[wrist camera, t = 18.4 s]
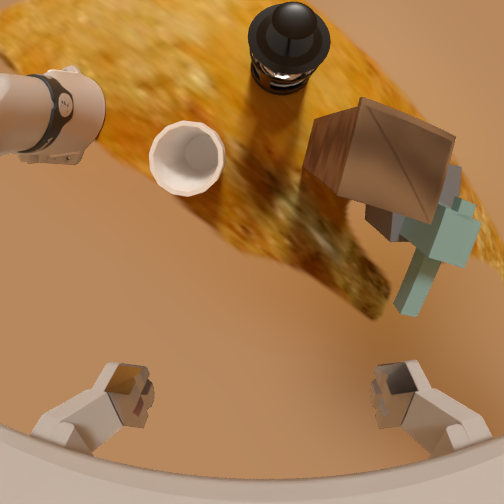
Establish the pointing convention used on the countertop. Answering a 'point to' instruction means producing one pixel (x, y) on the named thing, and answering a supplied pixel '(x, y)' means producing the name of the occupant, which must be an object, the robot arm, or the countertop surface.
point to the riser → (392, 222)
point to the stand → (381, 158)
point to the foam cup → (187, 158)
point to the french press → (286, 46)
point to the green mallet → (435, 250)
